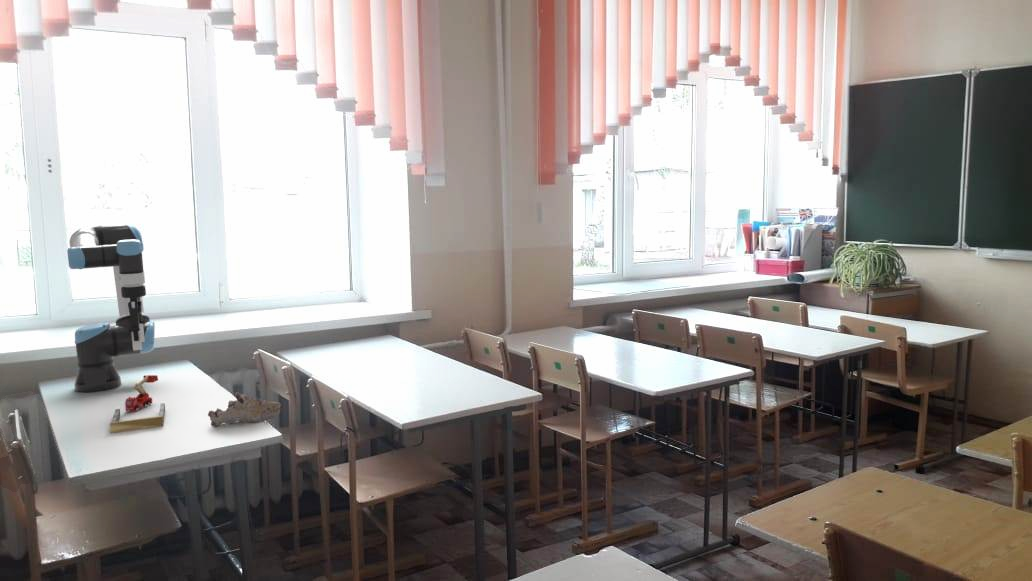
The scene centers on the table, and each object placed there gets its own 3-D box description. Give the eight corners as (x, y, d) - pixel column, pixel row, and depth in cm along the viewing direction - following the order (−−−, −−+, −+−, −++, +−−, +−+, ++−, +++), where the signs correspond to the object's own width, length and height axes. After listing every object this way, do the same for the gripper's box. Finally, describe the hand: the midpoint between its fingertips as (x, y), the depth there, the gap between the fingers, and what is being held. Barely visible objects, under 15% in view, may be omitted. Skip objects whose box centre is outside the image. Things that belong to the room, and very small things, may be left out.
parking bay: (116, 416, 249) (115, 407, 248) (165, 410, 254) (164, 401, 254) (110, 433, 232) (109, 423, 232) (163, 426, 238) (162, 416, 237)
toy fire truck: (124, 412, 253) (121, 384, 252) (151, 400, 266) (149, 373, 265) (133, 413, 252) (130, 384, 251) (160, 401, 266) (157, 373, 264)
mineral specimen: (215, 416, 228) (212, 387, 233) (207, 433, 234) (204, 405, 239) (284, 414, 239) (279, 387, 245) (275, 430, 246) (270, 403, 251)
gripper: (123, 281, 274) (129, 340, 277) (117, 291, 251) (123, 354, 254) (147, 279, 277) (152, 337, 280) (142, 289, 254) (149, 352, 257)
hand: (139, 346), depth 267 cm, fingers open, 13 cm apart
